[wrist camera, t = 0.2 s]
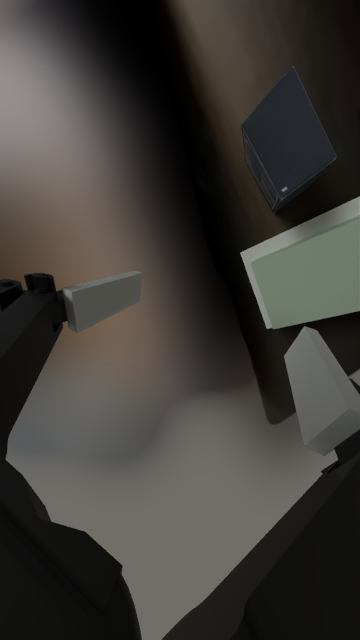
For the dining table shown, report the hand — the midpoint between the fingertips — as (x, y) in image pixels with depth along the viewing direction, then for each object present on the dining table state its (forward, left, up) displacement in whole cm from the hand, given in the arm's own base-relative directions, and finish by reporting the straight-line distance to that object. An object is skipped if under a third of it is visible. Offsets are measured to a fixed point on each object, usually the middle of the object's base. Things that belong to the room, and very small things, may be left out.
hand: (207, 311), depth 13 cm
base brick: (-2, +13, -26) cm, 29 cm away
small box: (-16, +1, -28) cm, 32 cm away
